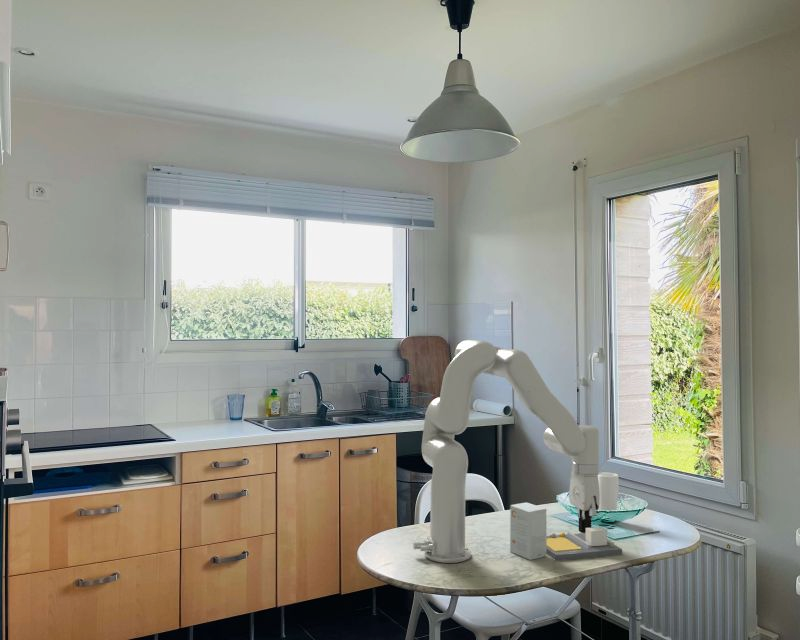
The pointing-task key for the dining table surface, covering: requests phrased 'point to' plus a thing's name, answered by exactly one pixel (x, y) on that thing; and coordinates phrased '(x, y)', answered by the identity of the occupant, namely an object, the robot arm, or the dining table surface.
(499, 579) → the dining table surface
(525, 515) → the small box
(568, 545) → the plate
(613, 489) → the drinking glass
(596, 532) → the lever
